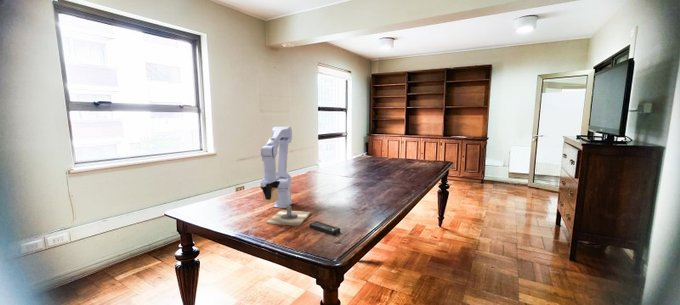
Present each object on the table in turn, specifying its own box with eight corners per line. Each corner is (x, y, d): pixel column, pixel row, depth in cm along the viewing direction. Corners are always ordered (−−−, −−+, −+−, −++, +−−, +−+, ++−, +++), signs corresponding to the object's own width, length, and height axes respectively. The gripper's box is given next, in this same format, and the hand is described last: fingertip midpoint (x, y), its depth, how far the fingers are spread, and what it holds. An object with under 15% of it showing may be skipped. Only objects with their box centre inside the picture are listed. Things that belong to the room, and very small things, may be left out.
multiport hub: (316, 225, 130) (316, 220, 130) (340, 233, 121) (340, 228, 120) (309, 228, 127) (309, 223, 126) (333, 237, 117) (333, 231, 117)
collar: (268, 199, 143) (268, 187, 142) (278, 199, 141) (277, 187, 140) (263, 202, 138) (262, 190, 137) (273, 202, 136) (272, 190, 135)
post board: (281, 212, 148) (280, 200, 147) (310, 214, 144) (310, 202, 143) (266, 223, 132) (265, 210, 132) (298, 226, 129) (298, 213, 128)
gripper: (269, 167, 145) (270, 193, 147) (254, 173, 131) (255, 201, 133) (282, 167, 144) (283, 194, 145) (268, 173, 130) (269, 202, 131)
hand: (271, 197), depth 139 cm, fingers closed on collar, 5 cm apart
